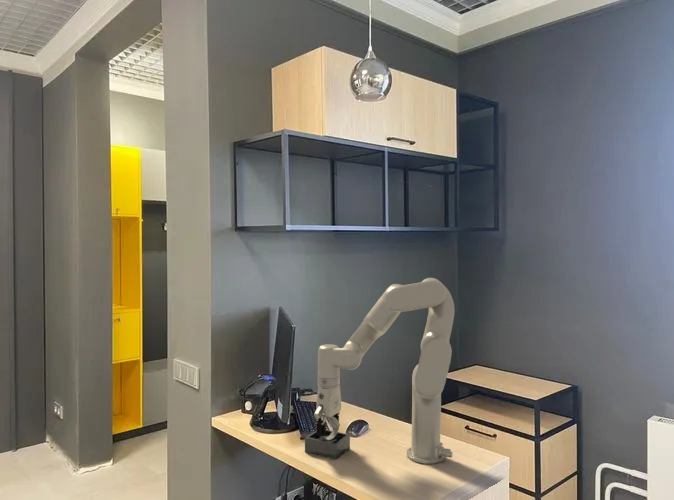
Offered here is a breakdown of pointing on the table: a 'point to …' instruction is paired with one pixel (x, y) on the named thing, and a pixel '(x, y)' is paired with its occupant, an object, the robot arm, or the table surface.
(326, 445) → the open box
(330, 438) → the watch
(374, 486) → the table surface
